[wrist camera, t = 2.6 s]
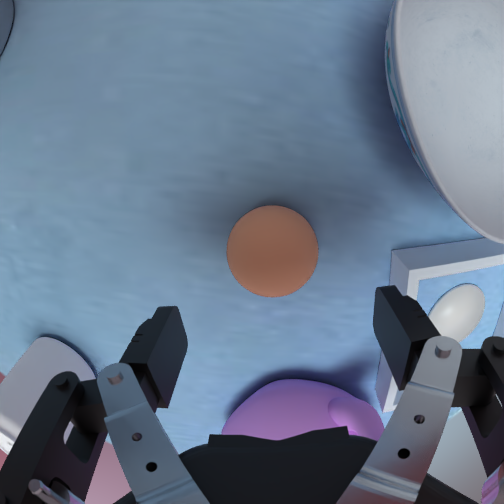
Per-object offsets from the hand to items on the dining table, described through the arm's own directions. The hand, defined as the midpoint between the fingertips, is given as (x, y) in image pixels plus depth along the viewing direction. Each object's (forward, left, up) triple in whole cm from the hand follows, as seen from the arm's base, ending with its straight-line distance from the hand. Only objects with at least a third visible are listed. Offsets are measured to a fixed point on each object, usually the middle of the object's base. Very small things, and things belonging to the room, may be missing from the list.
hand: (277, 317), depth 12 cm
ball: (0, 0, -8) cm, 8 cm away
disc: (+9, +15, -8) cm, 19 cm away
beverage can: (+11, -22, -8) cm, 26 cm away
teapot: (+18, +1, -8) cm, 19 cm away
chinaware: (-9, +13, -8) cm, 18 cm away
